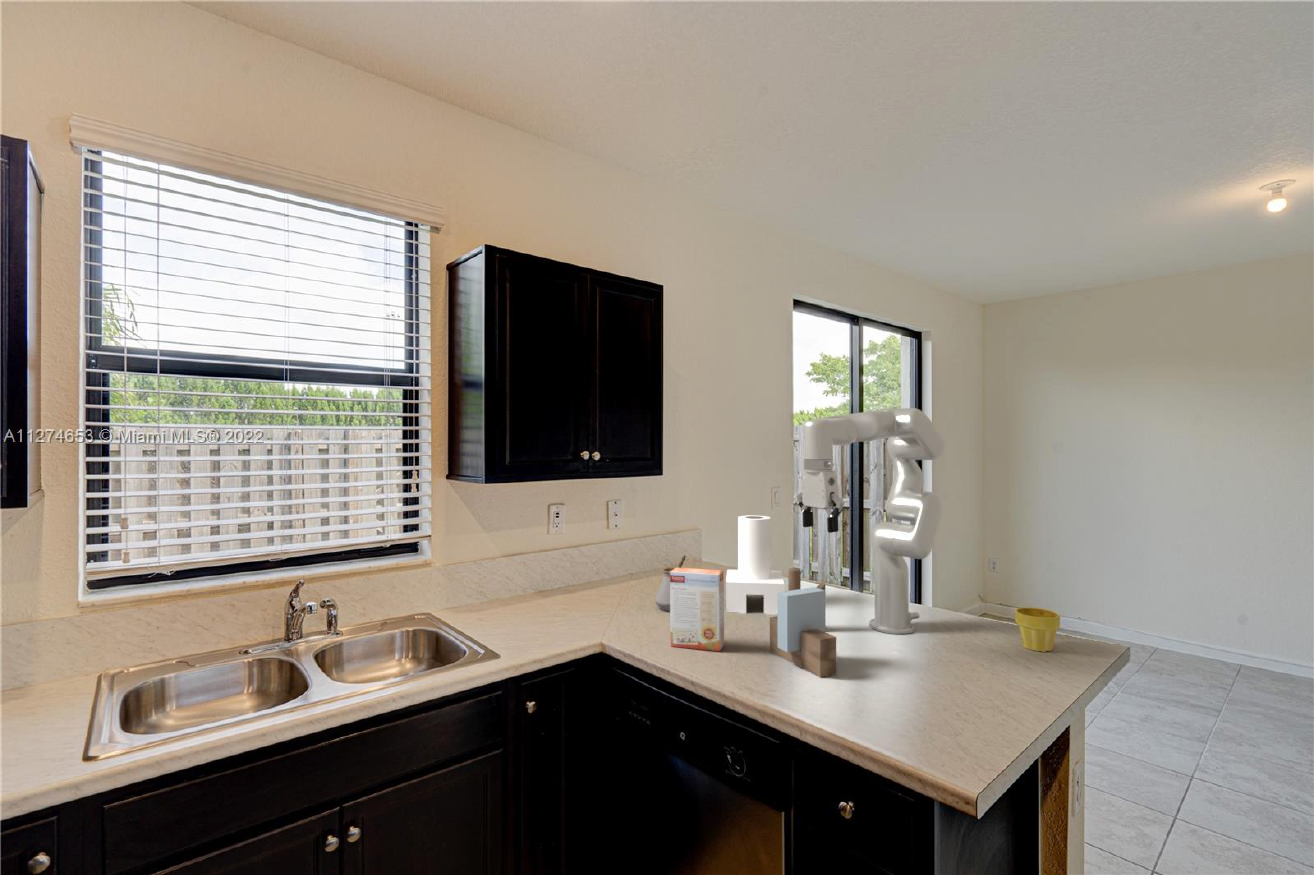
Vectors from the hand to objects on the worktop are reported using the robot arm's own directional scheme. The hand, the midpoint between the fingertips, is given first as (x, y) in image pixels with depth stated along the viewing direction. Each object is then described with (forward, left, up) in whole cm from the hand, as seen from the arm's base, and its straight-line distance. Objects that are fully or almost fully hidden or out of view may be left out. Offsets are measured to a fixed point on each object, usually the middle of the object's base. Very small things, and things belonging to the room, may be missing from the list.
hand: (820, 529), depth 165 cm
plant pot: (-54, +24, -33) cm, 68 cm away
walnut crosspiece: (+10, +4, -33) cm, 34 cm away
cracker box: (+28, -18, -33) cm, 47 cm away
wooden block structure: (-8, -16, -33) cm, 37 cm away
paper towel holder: (-9, -44, -33) cm, 56 cm away
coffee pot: (+14, -57, -33) cm, 67 cm away
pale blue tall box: (+10, +4, -29) cm, 31 cm away
